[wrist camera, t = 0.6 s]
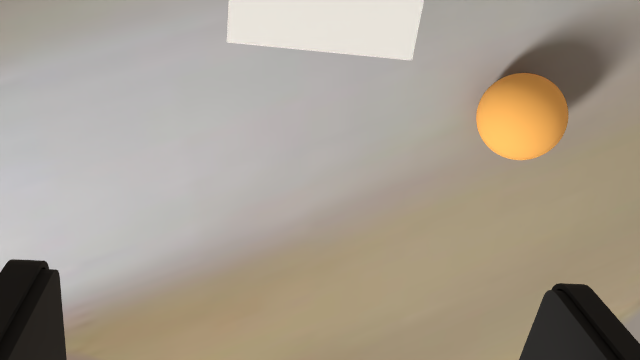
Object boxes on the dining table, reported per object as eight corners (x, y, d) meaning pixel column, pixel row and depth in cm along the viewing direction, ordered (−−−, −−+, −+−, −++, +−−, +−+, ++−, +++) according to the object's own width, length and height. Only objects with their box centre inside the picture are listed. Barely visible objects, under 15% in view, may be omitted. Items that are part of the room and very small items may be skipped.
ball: (475, 59, 33) (510, 84, 29) (553, 66, 34) (599, 92, 29) (456, 136, 35) (485, 171, 31) (529, 142, 36) (568, 177, 32)
